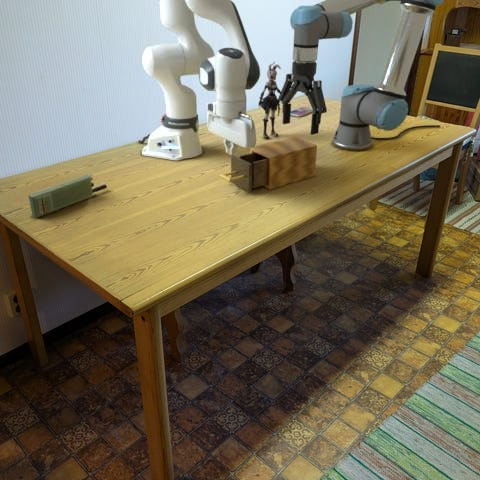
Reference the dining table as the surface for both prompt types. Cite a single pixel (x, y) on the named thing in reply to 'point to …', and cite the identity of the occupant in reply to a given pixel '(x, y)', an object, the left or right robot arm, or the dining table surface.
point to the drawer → (248, 171)
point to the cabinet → (288, 160)
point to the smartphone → (301, 111)
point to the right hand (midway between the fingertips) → (299, 128)
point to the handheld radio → (62, 195)
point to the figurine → (270, 99)
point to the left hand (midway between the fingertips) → (231, 154)
